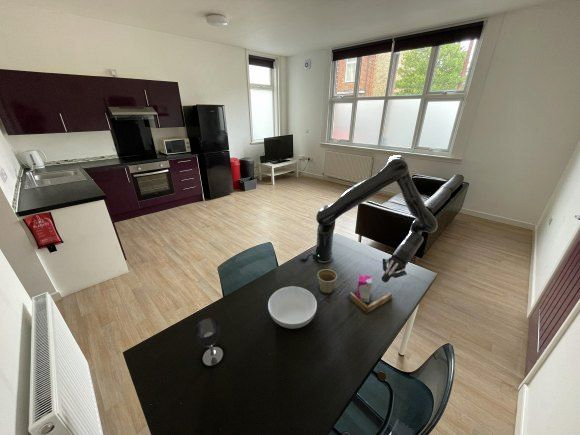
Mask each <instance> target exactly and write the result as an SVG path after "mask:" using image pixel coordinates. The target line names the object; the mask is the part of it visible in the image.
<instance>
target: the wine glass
mask: <svg viewBox="0 0 580 435" xmlns="http://www.w3.org/2000/svg"><path fill="white" fill-rule="evenodd" d="M193 331H194V336H195V339H196V340H197V342H198V344H199V345H200V346H201V347H205V348H209V349H207V350H206V351H205V352H204V354H203V356H202V362H203V364H204V365H206V366H209V367H211V366H215V365H217V364H218V363H220V361H221V360H222V359H223V356H224V351H223V350H222V348H221V347H218V346H214V345H215V344H216V343H217V342H218V341H219V338H220V335H221V334H220V332H221V331H220V324H219V321H218V319H217V318H214V317H206V318H203V319H201V320H199V321H198V322H197V323H196V324H195V327H194V330H193Z"/></svg>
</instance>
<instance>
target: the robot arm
mask: <svg viewBox="0 0 580 435" xmlns="http://www.w3.org/2000/svg"><path fill="white" fill-rule="evenodd" d="M395 182H396V184H397V186H398V188H399V190H400V193H401V195H402V198H403V201H404V203H405V205H406V207H407V209H408V211H409V213H410V215H411V216H413V217H414V218H415V219H414V220H413V221H412V224H411V226H410V229H409V232H408V234H407V235H406V236H405V237H404V239H403V240H402V242H400V244H398V246H397V248H396V249H395V250H394V251H393V253H392V254H391V256H390V257H388V258H382V270H383V272H384V273H383V275H381V281H382V282H383V283H388V282H389V281H390V280H391V278H394V279H396V278H397V279H398V278H400V277H403V276H407V275H408V273H407V272H406V266H407V265H408V264H409V263H410V261H411V260H412V258H413V257H414V256H415V254H416V253H417V251H418V249H419V248H420V246H421V245H422V244H423V242H424V239H425V238H424V236H422V233H428V234H432V233H435V232H436V231H437V229H438V227H439V226H438V225H439V224H438V220H437V219H436V217H435V216H434V215H433V214H432V213H431V210H429V209H428V208H427V207H426V204H425V201H424V200H423V198H422V196H421V194H420V192H419V191H418V189H417V187H416V185H415V183H414V181H413V179H412V177H411V174H410V170H409V162H408V161H407V159H406V158H405V157H404V156H402V155H393V156H390V157H389V159H387V160H386V164H385V166H384V167H383V168H381V169H380V170H379V171H378V172H377V173H375V174H374V175H372V176H370V177H368V178H366V179H363V180H361V181H358V182H357V183H356V184H354V185H353V186H351V187H350V188H348V189H347V190H346V191H345V192H343V194H342V195H341V196H339V197H338V199H336V200H335V202H333V203H332V204H330V205H329V204H326V205H323V206H321V208H319V210H318V211H317V214H316V217H315V219H316V223H317V224H318V225H317V228H316V244H315V249H312V253H310V254H308V255H307V257H306V258H301V259H300V260H301V261H307V260H308V259H309V257H310V256H312V260H315V261H316V262H318V263H321V264H328V263H330V262H332V256H333V245H334V244H333V242H334V232H335V229H336V221H337V219H338V218H339V217H341V216H342V215H344V214H346V213H347V212H350V211H351V210H353V209H355V208H357V206H359V205H361V204H362V203H364V202H366V201H367V200H369V199H370V198H372V196H374V195H376V194H377V193H378V192H380V191H381V190H382V189H384V188H386V187H387V186H390V185H391V184H393V183H395Z"/></svg>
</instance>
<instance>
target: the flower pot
mask: <svg viewBox="0 0 580 435" xmlns="http://www.w3.org/2000/svg"><path fill="white" fill-rule="evenodd" d="M317 278H318V282H319V290H320V291H321V292H322V293H325V294H330V293H332V292H333V290H334V287H335V283H336V281H337V278H338V274H337V272H336V271H334V270H332V269H329V268H328V269H327V268H324V269H321V270H319V271H318V272H317Z"/></svg>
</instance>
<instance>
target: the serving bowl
mask: <svg viewBox="0 0 580 435" xmlns="http://www.w3.org/2000/svg"><path fill="white" fill-rule="evenodd" d="M317 309H318V302H317V298H316V297H315V295H314V294H313V293H312V292H311V291H310V290H307V289H306V288H304V287H300V286H295V285H294V286H293V285H291V286H285V287H282V288H279V289H278V290H275V291H274V292H273V293H272V294H271V296H270V297H269V299H268V301H267V310H268V313H269V315H270V317H271V319H272V320H273V321H274V323H276V324H277V325H278V326H280V327H283V328H285V329H292V330H293V329H300V328H302V327H305V326H307V325H308V324H309V323H310V322H311V321H312V320H313V319H314V317H315V316H316V313H317Z"/></svg>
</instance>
